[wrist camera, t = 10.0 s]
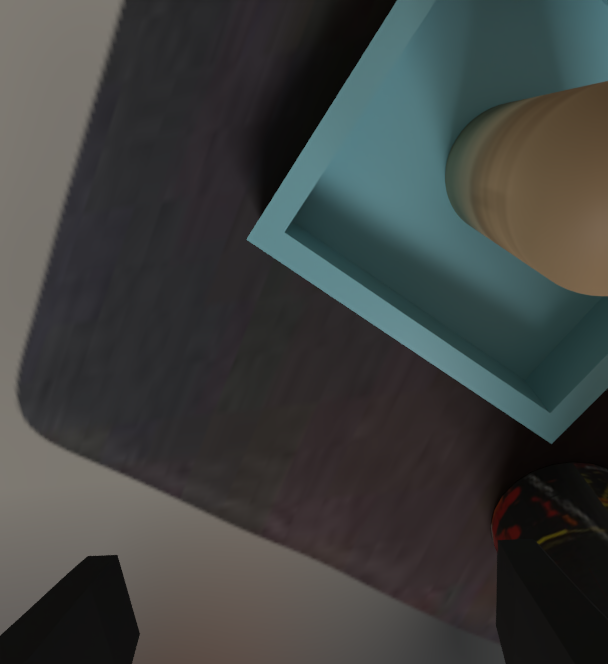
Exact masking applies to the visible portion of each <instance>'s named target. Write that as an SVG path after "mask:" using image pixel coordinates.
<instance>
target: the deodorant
mask: <svg viewBox="0 0 608 664" xmlns="http://www.w3.org/2000/svg"><path fill="white" fill-rule="evenodd" d="M491 531H492V540H493V543H494V546H495V548H496V551H498V540H513V539H534V540H535V541H536V542H537V543H538V544H539V545H540V546H541V547H542V548H543V549H544V551H545V552H546V553H547V554H548V555H549V556H550V557H551V558H552V559H553V561H554V562H555V563H556V564H557V565H558V566H559V567H560V568H561V569H562V571H563V572H564V573H565V574H566V575H567V576H568V577H569V578H570V579H571V580H572V581H573V583H574V584H575V585H576V586H577V587H578V588H579V589H580V590H581V591H582V592H583V593H584V594H585V595H586V596H587V597H588V598H589V600H590V601H591V602H592V603H593V604H594V605H595V606H596V607H597V608H598V609H599V610H600V611H601V612H602V613H603V614H604V615H605V616H606V617H607V618H608V469H607V468H604V467H601V466H598V465H595V464H588V463H576V462H570V463H563V464H555V465H550V466H547V467H545V468H542V469H539V470H536V471H534V472H531V473H530V474H528V475H527V476H525V477H523V478H522V479H520V480H519V481H517V482H516V483H515V484H514V485H513V486H512V487H511V488H510V489H509V490H508V491H507V492H506V493H505V494H504V495H503V496H502V497H501V499H500V501H499V503H498V505H497V506H496V508H495V510H494V514H493V518H492V523H491Z"/></svg>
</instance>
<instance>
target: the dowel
mask: <svg viewBox="0 0 608 664" xmlns="http://www.w3.org/2000/svg"><path fill="white" fill-rule="evenodd" d="M445 185H446V191H447V195H448V198H449V201H450V203H451V205H452V207H453V209H454V210H455V212H456V213H457V214H458V216H459V217H460V218H461V219H462V220H463V221H464V222H465V223H466V224H468V225H469V226H471V227H472V228H474V229H475V230H477V231H478V232H480V233H481V234H483V235H484V236H486V237H487V238H489V239H490V240H492V241H493V242H494V243H496V244H497V245H499V246H500V247H502V248H503V249H505V250H506V251H508V252H509V253H511V254H512V255H514V256H515V257H517V258H518V259H520V260H521V261H523V262H524V263H526V264H527V265H528V266H530V267H531V268H533V269H534V270H536V271H537V272H539V273H540V274H542V275H543V276H545V277H546V278H548V279H549V280H551V281H552V282H554V283H555V284H557V285H559V286H561V287H563V288H565V289H567V290H570V291H574V292H577V293H580V294H586V295H591V296H608V81H605V82H601V83H596V84H591V85H587V86H582V87H578V88H573V89H569V90H564V91H559V92H555V93H550V94H546V95H541V96H536V97H532V98H527V99H523V100H518V101H513V102H509V103H505V104H501V105H498V106H495V107H492V108H490V109H488V110H486V111H484V112H483V113H481V114H480V115H478V116H477V117H475V118H474V119H473V120H472V121H471V122H470V123H469V124H467V126H466V127H465V128H464V129H463V130H462V131H461V133H460V134H459V136H458V137H457V138H456V140H455V142H454V144H453V146H452V148H451V150H450V153H449V156H448V159H447V163H446V170H445Z"/></svg>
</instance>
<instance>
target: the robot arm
mask: <svg viewBox="0 0 608 664" xmlns="http://www.w3.org/2000/svg"><path fill="white" fill-rule="evenodd" d="M496 627H497V631H498V635H499V639H500V643H501V647H502V651H503V654H504V658H505V662H506V664H608V618H607V617H606V616H605V615H604V614H603V613H602V612H601V611H600V610H599V609H598V608H597V607H596V606H595V605H594V604H593V603H592V602H591V601H590V600H589V598H588V597H587V596H586V595H585V594H584V593H583V592H582V591H581V590H580V589H579V588H578V587H577V586H576V585H575V584H574V583H573V581H572V580H571V579H570V578H569V577H568V576H567V575H566V574H565V573H564V572H563V571H562V569H561V568H560V567H559V566H558V565H557V564H556V563H555V562H554V561H553V559H552V558H551V557H550V556H549V555H548V554H547V553H546V552H545V551H544V549H543V548H542V547H541V546H540V545H539V544H538V543H537V542H536V541H535V540H534V539H513V540H498V551H497V606H496ZM139 635H140V633H139V629H138V626H137V622H136V619H135V615H134V612H133V608H132V605H131V601H130V598H129V594H128V591H127V587H126V584H125V581H124V577H123V573H122V570H121V566H120V562H119V560H118V556H117V555H106V556H88V557H86V558H85V559H84V560H83V561H82V562H81V563H79V564H78V565H77V566H76V567H75V568H74V569H73V570H71V571H70V572H69V573H68V574H67V575H66V576H65V577H64V578H63V579H61V580H60V581H59V582H58V583H57V584H56V585H55V586H54V587H53V588H52V589H51V590H50V591H48V592H47V593H46V594H45V595H44V596H43V597H42V598H41V599H40V600H39V601H38V602H37V603H36V604H34V605H33V606H32V607H31V608H30V609H29V610H28V611H27V612H26V613H25V614H24V615H22V616H21V617H20V618H19V619H18V620H17V621H16V622H15V623H14V624H13V625H11V626H10V627H9V628H8V629H7V630H6V631H5V632H4V633H3V634H2V635H1V636H0V664H132V661H133V657H134V654H135V650H136V646H137V642H138V639H139Z"/></svg>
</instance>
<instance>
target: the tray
mask: <svg viewBox="0 0 608 664" xmlns="http://www.w3.org/2000/svg"><path fill="white" fill-rule="evenodd" d="M605 81H608V0H397V1H396V3H395V5H394V6H393V8H392V9H391V11H390V12H389V14H388V16H387V17H386V19H385V20H384V22H383V24H382V25H381V27H380V28H379V30H378V31H377V33H376V35H375V36H374V38H373V39H372V41H371V43H370V44H369V46H368V47H367V49H366V51H365V52H364V54H363V55H362V57H361V58H360V60H359V62H358V63H357V65H356V66H355V68H354V70H353V71H352V73H351V74H350V76H349V78H348V79H347V81H346V82H345V84H344V85H343V87H342V89H341V90H340V92H339V93H338V95H337V97H336V98H335V100H334V101H333V103H332V105H331V106H330V108H329V109H328V111H327V112H326V114H325V116H324V117H323V119H322V120H321V122H320V124H319V125H318V127H317V128H316V130H315V132H314V133H313V135H312V136H311V138H310V139H309V141H308V143H307V144H306V146H305V147H304V149H303V151H302V152H301V154H300V155H299V157H298V158H297V160H296V162H295V163H294V165H293V166H292V168H291V170H290V171H289V173H288V174H287V176H286V178H285V179H284V181H283V182H282V184H281V185H280V187H279V189H278V190H277V192H276V193H275V195H274V197H273V198H272V200H271V201H270V203H269V205H268V206H267V208H266V209H265V211H264V212H263V214H262V216H261V217H260V219H259V220H258V222H257V224H256V225H255V227H254V228H253V230H252V232H251V233H250V235H249V236H248V238H247V239H246V240H248V241H249V242H251V243H252V244H254V245H255V246H257V247H258V248H260V249H261V250H263V251H264V252H266V253H267V254H269V255H270V256H272V257H273V258H275V259H276V260H278V261H279V262H281V263H282V264H284V265H285V266H287V267H288V268H290V269H291V270H293V271H294V272H296V273H297V274H299V275H300V276H302V277H303V278H305V279H306V280H308V281H309V282H311V283H312V284H314V285H315V286H317V287H318V288H320V289H321V290H323V291H324V292H326V293H327V294H329V295H330V296H332V297H333V298H335V299H336V300H337V301H339V302H340V303H342V304H343V305H345V306H346V307H348V308H349V309H351V310H352V311H354V312H355V313H357V314H358V315H360V316H361V317H363V318H364V319H366V320H367V321H369V322H370V323H372V324H373V325H375V326H376V327H378V328H379V329H381V330H382V331H384V332H385V333H387V334H388V335H390V336H391V337H393V338H394V339H396V340H397V341H399V342H400V343H402V344H403V345H405V346H406V347H408V348H409V349H411V350H412V351H414V352H415V353H417V354H418V355H420V356H421V357H423V358H424V359H426V360H427V361H428V362H430V363H431V364H433V365H434V366H436V367H437V368H439V369H440V370H442V371H443V372H445V373H446V374H448V375H449V376H451V377H452V378H454V379H455V380H457V381H458V382H460V383H461V384H463V385H464V386H466V387H467V388H469V389H470V390H472V391H473V392H475V393H476V394H478V395H479V396H481V397H482V398H484V399H485V400H487V401H488V402H490V403H491V404H493V405H494V406H496V407H497V408H499V409H500V410H502V411H503V412H505V413H506V414H508V415H509V416H511V417H512V418H514V419H515V420H517V421H518V422H520V423H521V424H522V425H524V426H525V427H527V428H528V429H530V430H531V431H533V432H534V433H536V434H537V435H539V436H540V437H542V438H543V439H545V440H546V441H548V442H549V443H551V444H552V443H553V442H554V441H555V440H556V439H557V438H558V437H559V436H560V435H561V434H562V433H563V432H564V431H565V430H566V429H567V428H568V427H569V426H570V425H571V424H572V423H573V422H574V421H575V420H576V419H577V418H578V417H579V416H580V415H581V414H582V413H583V412H584V411H585V410H586V409H587V408H588V407H589V406H590V405H591V404H592V403H593V402H594V401H595V400H596V399H597V398H598V397H599V396H600V395H601V394H602V393H603V392H604V391H605V390H606V389H607V388H608V296H591V295H586V294H580V293H577V292H574V291H570V290H567V289H565V288H563V287H561V286H559V285H557V284H555V283H554V282H552V281H551V280H549V279H548V278H546V277H545V276H543V275H542V274H540V273H539V272H537V271H536V270H534V269H533V268H531V267H530V266H528V265H527V264H526V263H524V262H523V261H521V260H520V259H518V258H517V257H515V256H514V255H512V254H511V253H509V252H508V251H506V250H505V249H503V248H502V247H500V246H499V245H497V244H496V243H494V242H493V241H492V240H490V239H489V238H487V237H486V236H484V235H483V234H481V233H480V232H478V231H477V230H475V229H474V228H472V227H471V226H469V225H468V224H466V223H465V222H464V221H463V220H462V219H461V218H460V217H459V216H458V214H457V213H456V212H455V210H454V209H453V207H452V205H451V203H450V201H449V198H448V195H447V191H446V185H445V170H446V163H447V159H448V156H449V153H450V150H451V148H452V146H453V144H454V142H455V140H456V138H457V137H458V136H459V134H460V133H461V131H462V130H463V129H464V128H465V127H466V126H467V124H469V123H470V122H471V121H472V120H473V119H474V118H475V117H477V116H478V115H480V114H481V113H483V112H484V111H486V110H488V109H490V108H492V107H495V106H498V105H501V104H505V103H509V102H513V101H518V100H523V99H527V98H532V97H536V96H541V95H546V94H550V93H555V92H559V91H564V90H569V89H573V88H578V87H582V86H587V85H591V84H596V83H601V82H605Z"/></svg>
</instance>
